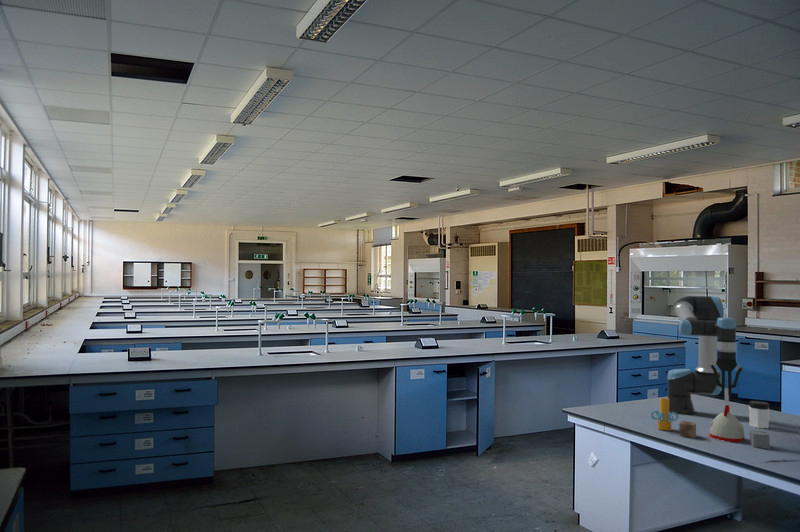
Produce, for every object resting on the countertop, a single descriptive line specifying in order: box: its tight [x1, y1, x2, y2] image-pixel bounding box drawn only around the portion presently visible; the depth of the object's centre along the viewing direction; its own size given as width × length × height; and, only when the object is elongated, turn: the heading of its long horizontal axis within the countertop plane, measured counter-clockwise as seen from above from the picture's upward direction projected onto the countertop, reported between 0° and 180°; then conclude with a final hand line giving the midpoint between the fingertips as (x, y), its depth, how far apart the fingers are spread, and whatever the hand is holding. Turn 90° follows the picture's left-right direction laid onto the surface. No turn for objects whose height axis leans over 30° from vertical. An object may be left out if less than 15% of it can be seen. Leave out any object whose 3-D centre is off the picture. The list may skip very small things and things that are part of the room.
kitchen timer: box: [709, 404, 745, 443], centre depth 253 cm, size 14×14×15 cm
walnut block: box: [678, 420, 697, 439], centre depth 255 cm, size 6×6×6 cm
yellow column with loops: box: [650, 397, 679, 432], centre depth 266 cm, size 12×10×15 cm
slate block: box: [749, 429, 771, 450], centre depth 240 cm, size 6×6×6 cm
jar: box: [748, 400, 770, 429], centre depth 274 cm, size 9×8×12 cm
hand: (726, 402), depth 253 cm, fingers closed
